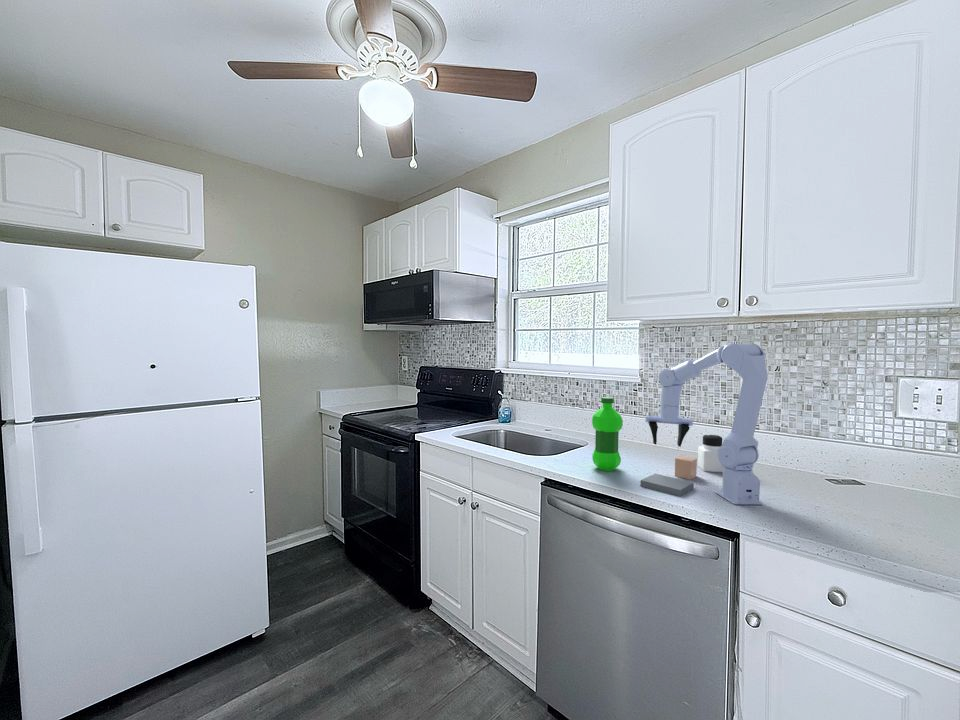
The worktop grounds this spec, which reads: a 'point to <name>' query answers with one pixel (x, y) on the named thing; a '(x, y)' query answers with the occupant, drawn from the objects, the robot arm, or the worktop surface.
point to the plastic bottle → (606, 436)
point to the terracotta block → (685, 467)
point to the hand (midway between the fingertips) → (666, 444)
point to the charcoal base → (667, 484)
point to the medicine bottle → (710, 454)
